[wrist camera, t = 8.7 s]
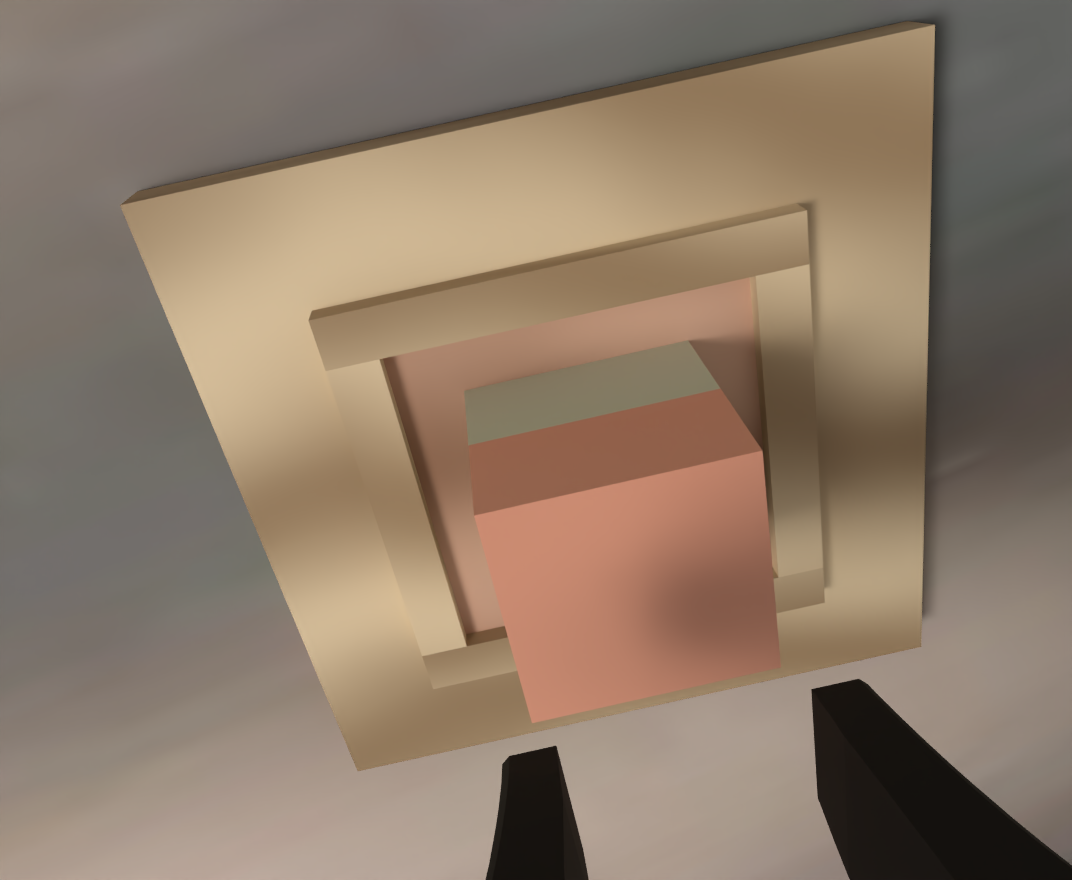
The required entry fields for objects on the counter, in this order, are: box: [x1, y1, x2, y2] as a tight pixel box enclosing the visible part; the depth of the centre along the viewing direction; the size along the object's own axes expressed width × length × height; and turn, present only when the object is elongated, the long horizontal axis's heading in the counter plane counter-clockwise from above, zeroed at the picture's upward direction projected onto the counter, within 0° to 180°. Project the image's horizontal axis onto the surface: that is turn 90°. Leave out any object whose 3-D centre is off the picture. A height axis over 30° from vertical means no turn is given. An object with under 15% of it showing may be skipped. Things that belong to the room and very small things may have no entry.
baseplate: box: [120, 21, 935, 771], centre depth 19 cm, size 14×14×2 cm
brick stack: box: [464, 340, 781, 723], centre depth 16 cm, size 4×4×4 cm
